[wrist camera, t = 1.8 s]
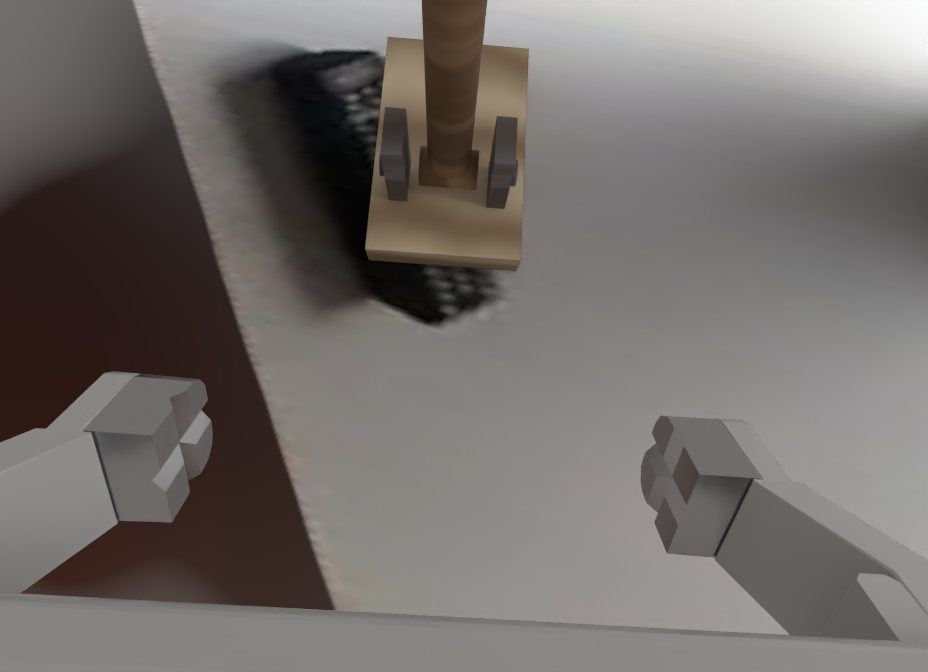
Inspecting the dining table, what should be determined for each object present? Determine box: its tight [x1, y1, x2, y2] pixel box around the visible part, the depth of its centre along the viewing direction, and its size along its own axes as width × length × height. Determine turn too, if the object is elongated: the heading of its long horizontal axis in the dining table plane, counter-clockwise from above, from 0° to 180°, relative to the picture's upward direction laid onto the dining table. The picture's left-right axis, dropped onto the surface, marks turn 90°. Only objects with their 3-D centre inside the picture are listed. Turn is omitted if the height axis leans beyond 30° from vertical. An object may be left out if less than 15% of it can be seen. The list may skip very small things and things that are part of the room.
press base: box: [365, 37, 529, 271], centre depth 35 cm, size 16×10×8 cm, turn 177°
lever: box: [419, 0, 487, 190], centre depth 24 cm, size 4×4×24 cm
